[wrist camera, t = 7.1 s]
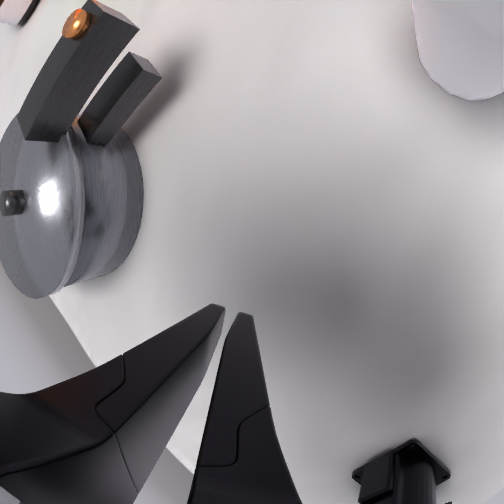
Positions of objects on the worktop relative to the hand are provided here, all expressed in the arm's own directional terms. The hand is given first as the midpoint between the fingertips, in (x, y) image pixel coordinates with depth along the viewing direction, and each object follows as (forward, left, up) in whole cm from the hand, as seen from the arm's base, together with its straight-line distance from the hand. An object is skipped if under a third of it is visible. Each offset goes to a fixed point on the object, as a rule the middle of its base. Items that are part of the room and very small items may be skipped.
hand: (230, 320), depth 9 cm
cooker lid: (+18, +7, -6) cm, 20 cm away
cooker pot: (+18, +9, -12) cm, 24 cm away
